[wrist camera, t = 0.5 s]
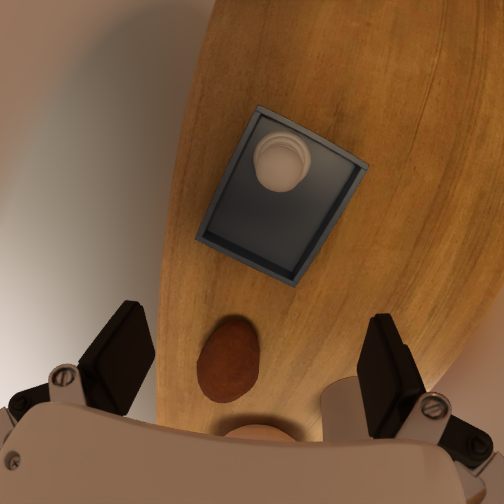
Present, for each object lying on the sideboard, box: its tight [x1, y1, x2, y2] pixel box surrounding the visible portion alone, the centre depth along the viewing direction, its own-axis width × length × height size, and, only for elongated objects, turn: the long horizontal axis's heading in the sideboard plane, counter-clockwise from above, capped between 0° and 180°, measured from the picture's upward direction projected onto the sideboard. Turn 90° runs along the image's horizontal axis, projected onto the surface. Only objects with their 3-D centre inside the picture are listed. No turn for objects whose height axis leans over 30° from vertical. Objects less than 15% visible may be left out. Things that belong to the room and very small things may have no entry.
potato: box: [197, 321, 260, 403], centre depth 33 cm, size 8×12×8 cm, turn 165°
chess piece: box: [253, 131, 311, 192], centre depth 22 cm, size 5×5×9 cm
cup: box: [321, 376, 373, 442], centre depth 34 cm, size 9×9×12 cm
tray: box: [195, 105, 370, 288], centre depth 27 cm, size 14×11×2 cm
